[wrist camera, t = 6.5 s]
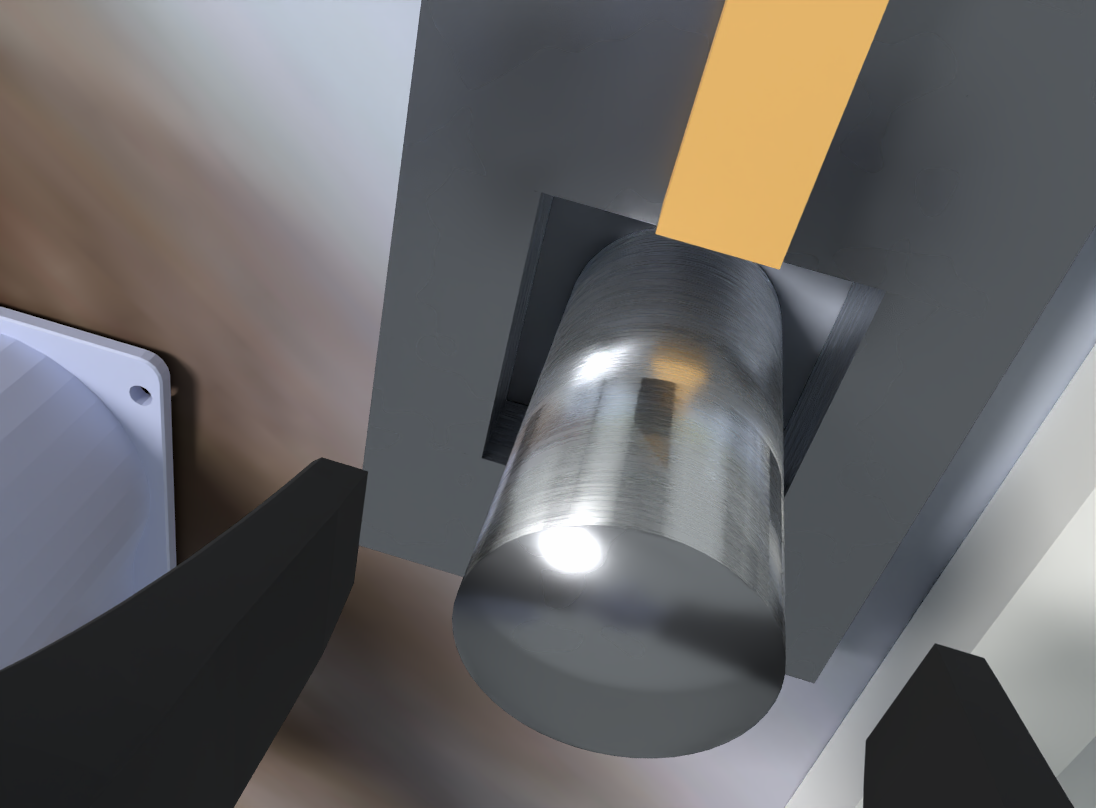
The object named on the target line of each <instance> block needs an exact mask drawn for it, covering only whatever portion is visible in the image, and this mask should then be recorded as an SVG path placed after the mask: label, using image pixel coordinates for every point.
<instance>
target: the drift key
mask: <svg viewBox="0 0 1096 808" xmlns="http://www.w3.org/2000/svg"><path fill="white" fill-rule="evenodd" d="M888 2H889V0H725V3H724V7H723V10H722V13H721V16H720V20H719V23H718V26H717V29H716V33H715V36H714V39H713V42H712V46H711V49H710V52H709V55H708V59H707V62H706V65H705V68H704V71H703V75H702V78H701V81H700V84H699V88H698V91H697V94H696V97H695V101H694V104H693V107H692V110H691V114H690V117H689V120H688V123H687V127H686V130H685V133H684V136H683V140H682V143H681V146H680V149H679V153H678V156H677V159H676V162H675V165H674V169H673V172H672V175H671V178H670V182H669V185H668V188H667V191H666V195H665V198H664V201H663V205H662V209H661V213H660V217H659V221H658V225H657V229H656V233H655V234H657V235H661V236H664V237H668V238H671V239H675V240H678V241H682V242H685V243H689V244H692V245H696V246H699V247H703V248H706V249H710V250H713V251H717V252H720V253H724V254H727V255H731V256H734V257H738V258H741V259H745V260H748V261H752V262H755V263H758V264H762V265H765V266H769V267H772V268H776V269H779V270H780V267H781V265H782V262H783V260H784V257H785V255H786V252H787V250H788V247H789V245H790V243H791V240H792V238H793V235H794V233H795V230H796V228H797V225H798V223H799V220H800V218H801V215H802V213H803V211H804V208H805V206H806V203H807V201H808V198H809V196H810V193H811V191H812V188H813V186H814V184H815V181H816V179H817V176H818V174H819V171H820V169H821V166H822V164H823V161H824V159H825V157H826V154H827V152H828V149H829V147H830V144H831V142H832V139H833V137H834V134H835V132H836V129H837V127H838V125H839V122H840V120H841V117H842V115H843V112H844V110H845V107H846V105H847V102H848V100H849V98H850V95H851V93H852V90H853V88H854V85H855V83H856V80H857V78H858V75H859V73H860V71H861V68H862V66H863V63H864V61H865V58H866V56H867V53H868V51H869V48H870V46H871V43H872V41H873V39H874V36H875V34H876V31H877V29H878V26H879V24H880V21H881V19H882V16H883V14H884V12H885V9H886V7H887V4H888Z"/></svg>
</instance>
